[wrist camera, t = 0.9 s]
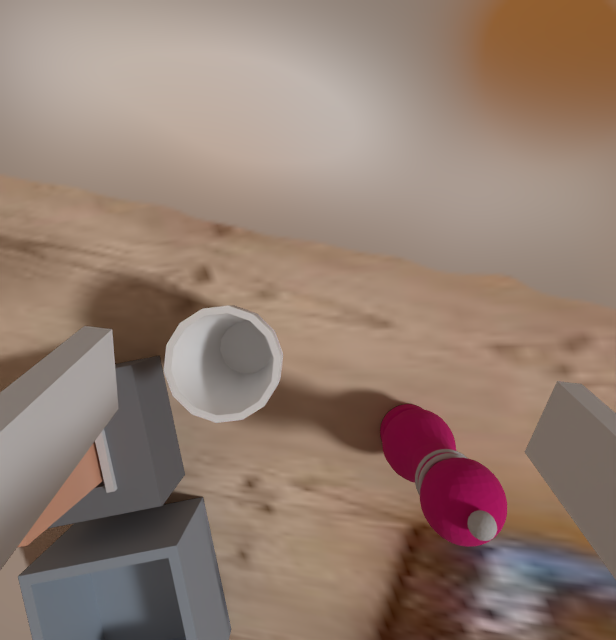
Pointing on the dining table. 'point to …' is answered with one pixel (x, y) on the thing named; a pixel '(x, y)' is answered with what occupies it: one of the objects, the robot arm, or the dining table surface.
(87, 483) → the terracotta flat slab
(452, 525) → the pepper mill
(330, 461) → the dining table surface
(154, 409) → the dispenser
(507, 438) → the dining table surface
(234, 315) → the foam cup
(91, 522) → the bin
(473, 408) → the dining table surface
